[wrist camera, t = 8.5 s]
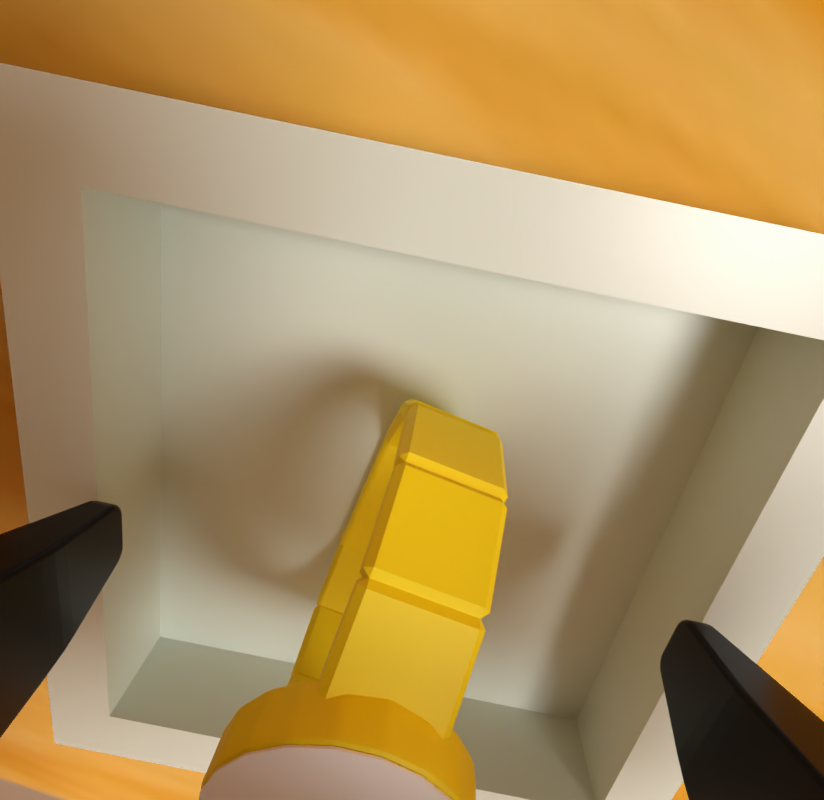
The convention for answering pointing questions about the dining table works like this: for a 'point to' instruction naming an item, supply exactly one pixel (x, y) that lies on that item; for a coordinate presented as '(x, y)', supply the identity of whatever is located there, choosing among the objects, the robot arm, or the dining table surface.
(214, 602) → the parts tray
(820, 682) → the dining table surface
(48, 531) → the robot arm
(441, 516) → the watch
